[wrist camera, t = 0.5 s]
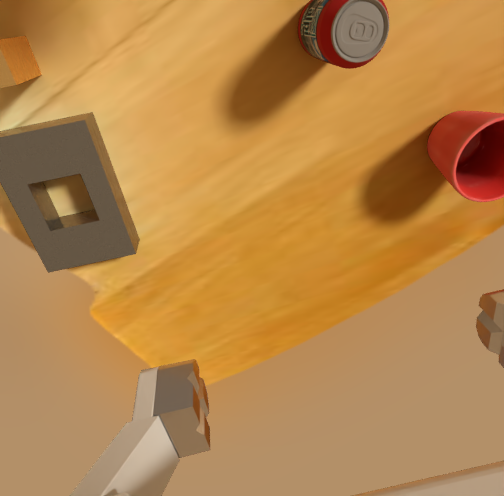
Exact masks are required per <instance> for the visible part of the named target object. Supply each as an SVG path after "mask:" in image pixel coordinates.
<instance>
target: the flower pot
mask: <svg viewBox="0 0 504 496" xmlns="http://www.w3.org/2000/svg"><path fill="white" fill-rule="evenodd" d="M427 150H428V154H429V157H430V159H431V160H432V161H433V163H434V164H435V165H436V167H437V168H438V169H439V171H440V172H441V173H442V174H443V176H444V177H445V178H446V179H447V180H448V182H449V183H450V184H451V185H452V186H453V187H454V189H455V190H456V191H457V192H458V193H459V194H460V195H462V196H463V197H465V198H467V199H469V200H472V201H477V202H489V201H494V200H497V199H500V198H503V197H504V114H501V113H491V112H479V111H457V112H453V113H451V114H449V115H447V116H445V117H444V118H442V119H441V120H440V121H439V122H438V123H437V124H436V125H435V127H434V128H433V130H432V132H431V134H430V136H429V138H428V143H427Z"/></svg>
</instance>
